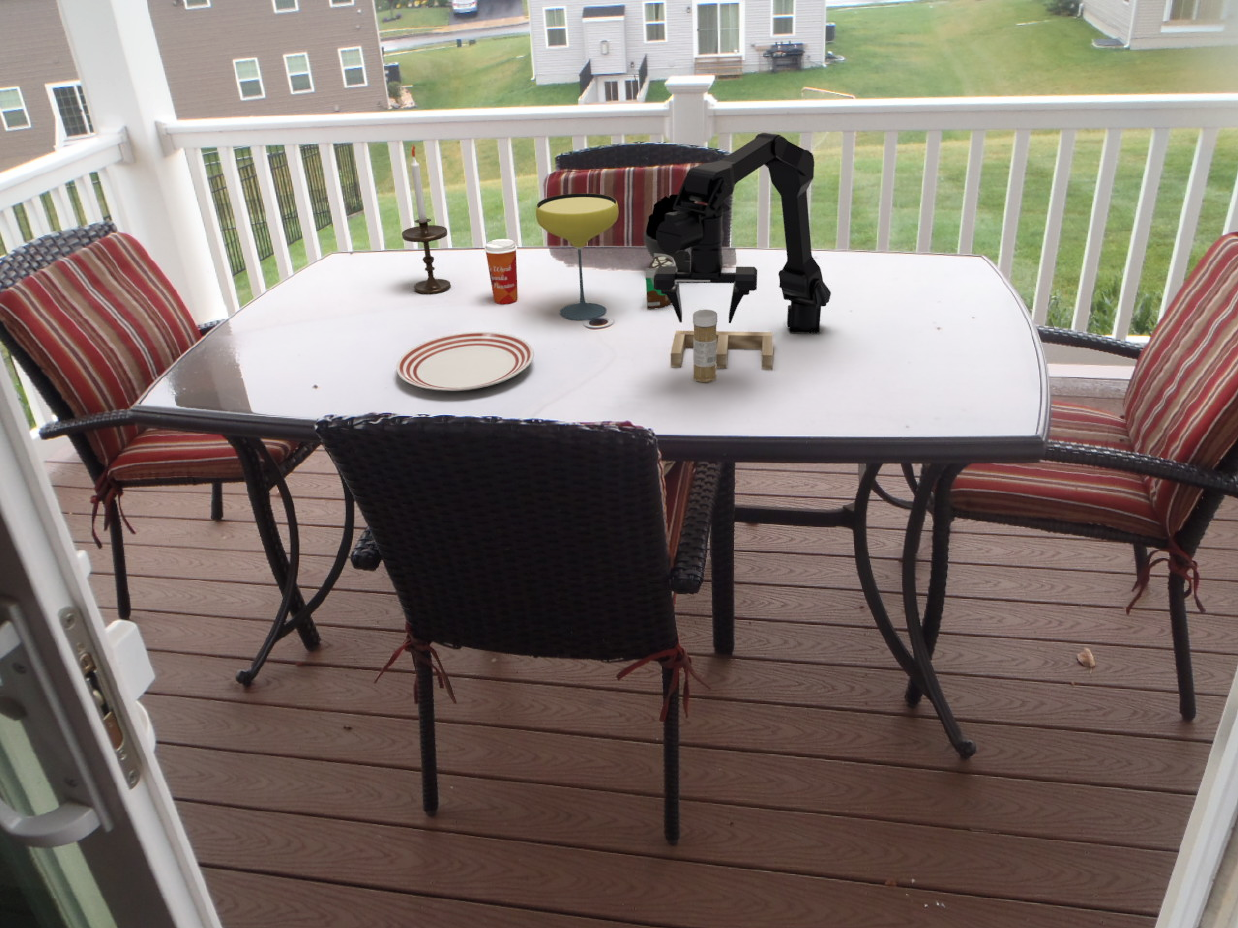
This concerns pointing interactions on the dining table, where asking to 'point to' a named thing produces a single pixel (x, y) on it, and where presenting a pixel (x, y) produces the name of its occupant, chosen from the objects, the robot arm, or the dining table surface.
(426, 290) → the candlestick
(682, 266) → the coal bowl
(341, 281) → the dining table surface
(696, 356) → the sprinkles bottle
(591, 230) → the cocktail glass
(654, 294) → the food container
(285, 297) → the dining table surface
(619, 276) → the dining table surface
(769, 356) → the comb rack
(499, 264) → the paper cup
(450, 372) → the dinner plate
